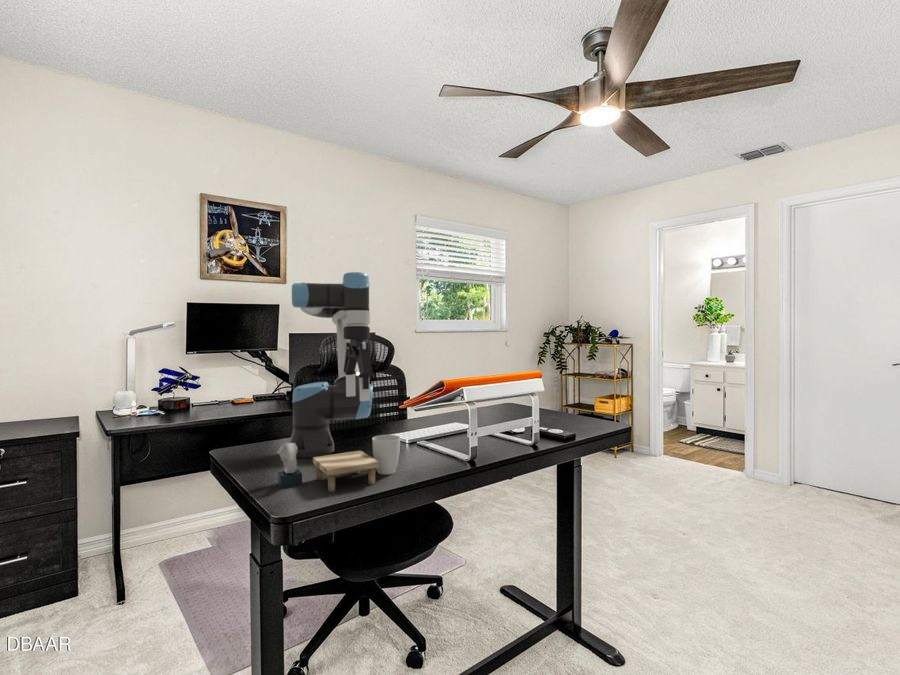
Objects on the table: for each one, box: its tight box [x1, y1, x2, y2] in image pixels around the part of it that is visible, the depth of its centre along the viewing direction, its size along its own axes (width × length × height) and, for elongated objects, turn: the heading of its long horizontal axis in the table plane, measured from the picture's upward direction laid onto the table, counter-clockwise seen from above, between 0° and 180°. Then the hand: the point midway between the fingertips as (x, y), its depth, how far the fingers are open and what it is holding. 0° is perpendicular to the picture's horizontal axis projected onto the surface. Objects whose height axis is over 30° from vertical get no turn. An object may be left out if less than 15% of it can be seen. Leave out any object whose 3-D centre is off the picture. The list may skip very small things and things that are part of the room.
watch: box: [277, 442, 303, 489], centre depth 129 cm, size 6×8×11 cm
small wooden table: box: [312, 450, 379, 493], centre depth 131 cm, size 14×14×6 cm
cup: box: [371, 434, 401, 476], centre depth 139 cm, size 8×8×10 cm
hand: (357, 398), depth 140 cm, fingers open, 13 cm apart
